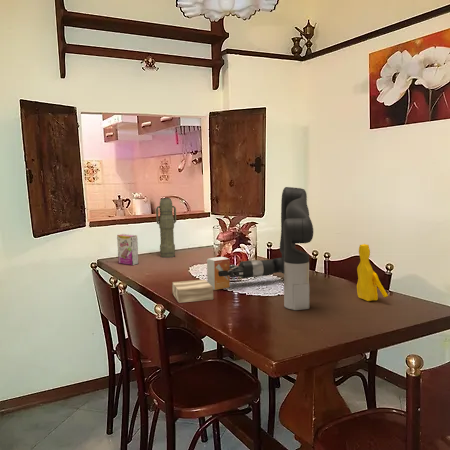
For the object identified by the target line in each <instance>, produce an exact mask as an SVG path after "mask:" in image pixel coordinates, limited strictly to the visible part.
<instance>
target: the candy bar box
mask: <svg viewBox="0 0 450 450" xmlns="http://www.w3.org/2000/svg"><path fill="white" fill-rule="evenodd" d="M116 239H117V242H116V243H117V257H118V258H117V259H118V264H120V265H121V264H122V265H128V266H136V265H139V247H138V246H139V245H138V244H139V243H138V235H137V234H129V233H128V234H126V233H121V234H117V236H116Z"/></svg>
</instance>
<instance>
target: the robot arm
mask: <svg viewBox="0 0 450 450" xmlns="http://www.w3.org/2000/svg"><path fill="white" fill-rule="evenodd" d="M307 194H308V193H307V191H306V189H304V188H302V187H291V186H285V187H284V188H283V189H282V192H281V202H280V203H281V205H280V207H281V208H280V212H281V213H280V224H281V225H280V227H281V228H280V230H281V231H280V240H279V242H280V243H279V252H280V253H281V257H276V258H271V259H263V260H262V259H261V260H257V259H254V260H241V261H240V263H239V265H236V264H233V263H232V264H230V270H228V271H219V272H218V275H219V276H227V275H228V276H230V278H236V277H241V278H242V279H245V278H246V279H249V278H260V277H266V276H272V275H273V274H276V273H280V274H283V302H284V303H283V304H284V305H283V306H284V308H285V309H289V310H292V311H301V310H309V309H310V255H309V253H307V252H306V251H302V250H299V249H298V248H297V247H296V244H308V243H311V242H312V240H313V238H314V225H313V222H312V220H311V217H310V210H309V206H308V203H307V201H308V199H307V198H308V197H307Z"/></svg>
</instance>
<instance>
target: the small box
mask: <svg viewBox="0 0 450 450" xmlns="http://www.w3.org/2000/svg"><path fill="white" fill-rule="evenodd" d="M230 261H231V260H230V258H228V257H226V256H218V257H217V256H216V257H210V258H206V274H207V276H206V278H207V279H206V281H207V282H208V283H209V284H210V285H211V286H212V287H213V291H216V290H223V289H227V288H229V287H230V288H231V286H230V285H231V283H230V281H231V280H230V279H231V277H230V276H228V275H227V276H219V275H218V272H219V271H228V270H230V265H231V262H230Z"/></svg>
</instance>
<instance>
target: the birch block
mask: <svg viewBox="0 0 450 450" xmlns="http://www.w3.org/2000/svg"><path fill="white" fill-rule="evenodd" d="M171 284H172V285H171V286H172V287H171V288H172V290H171V291H172V295H173V296H174V298H175V299H176V301H177V302H178V303H179V304H181V303H189V302H191V303H192V302H200V301H201V302H202V301H212V300H214V290H213V287H212V286H211V285H210V284H209V283H208V282H207V279H205V278H204V279H203V278H202V279H194V280H182V281H172V282H171Z"/></svg>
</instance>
